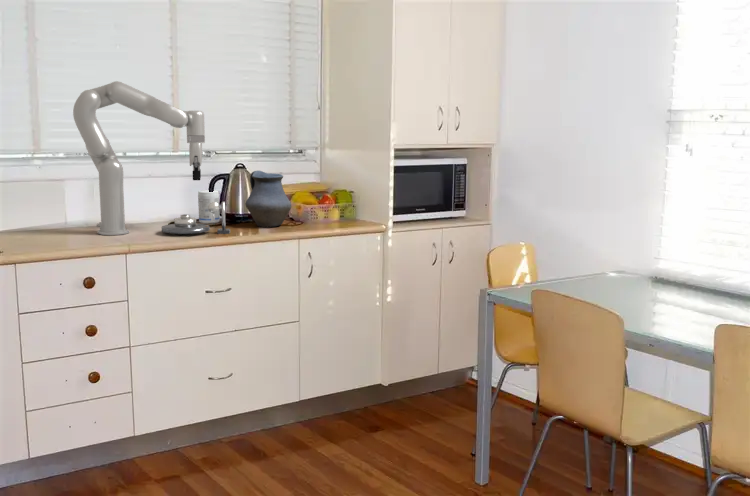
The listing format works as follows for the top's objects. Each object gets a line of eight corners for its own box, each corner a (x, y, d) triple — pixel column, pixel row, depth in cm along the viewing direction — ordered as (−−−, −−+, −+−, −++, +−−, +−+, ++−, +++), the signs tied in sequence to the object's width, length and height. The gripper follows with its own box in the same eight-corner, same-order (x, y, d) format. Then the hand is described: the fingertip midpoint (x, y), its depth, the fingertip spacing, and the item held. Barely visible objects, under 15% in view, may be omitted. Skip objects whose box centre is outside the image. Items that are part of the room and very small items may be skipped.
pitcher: (266, 230, 336) (265, 174, 331) (234, 225, 350) (233, 171, 345) (300, 226, 351) (300, 171, 347) (268, 221, 365) (268, 169, 361)
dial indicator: (230, 232, 331) (229, 201, 328) (229, 233, 326) (228, 202, 324) (209, 232, 330) (208, 201, 327) (208, 233, 325) (207, 202, 323)
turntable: (151, 231, 322) (151, 227, 322) (185, 225, 339) (185, 221, 339) (186, 235, 313) (186, 231, 312) (219, 229, 330) (219, 225, 329)
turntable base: (168, 233, 324) (168, 231, 324) (185, 230, 333) (185, 228, 333) (186, 235, 320) (186, 233, 319) (202, 232, 328) (202, 230, 328)
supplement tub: (213, 220, 365) (213, 189, 363) (223, 222, 358) (222, 191, 356) (195, 221, 359) (194, 190, 357) (204, 224, 352) (203, 192, 349)
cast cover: (170, 225, 327) (170, 215, 327) (185, 223, 335) (184, 212, 334) (185, 227, 323) (185, 216, 322) (200, 225, 331) (200, 214, 330)
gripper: (187, 138, 337) (188, 177, 340) (186, 140, 320) (187, 181, 323) (204, 138, 338) (205, 177, 341) (204, 140, 321) (205, 181, 324)
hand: (196, 179), depth 332 cm, fingers open, 9 cm apart
